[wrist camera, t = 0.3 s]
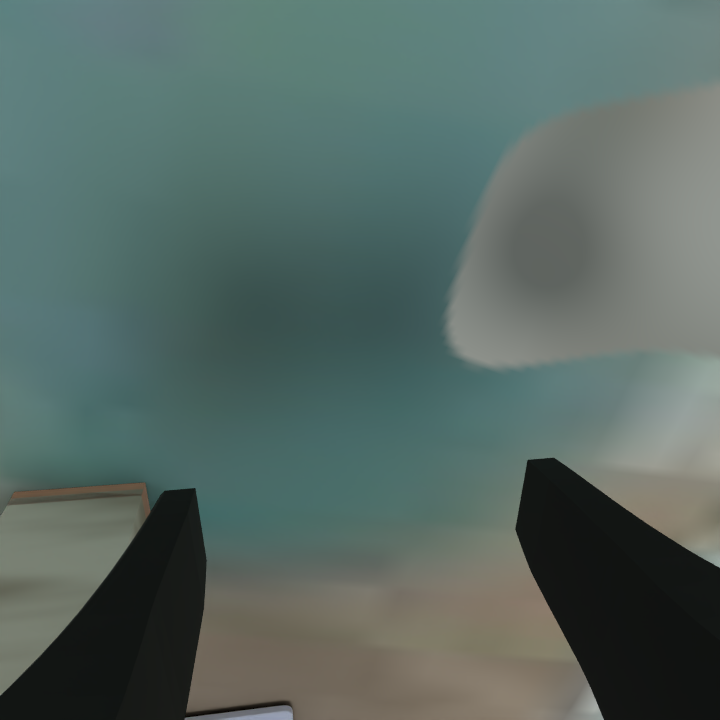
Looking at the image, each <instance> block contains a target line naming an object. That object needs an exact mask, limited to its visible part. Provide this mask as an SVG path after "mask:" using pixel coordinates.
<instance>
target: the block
mask: <svg viewBox="0 0 720 720" xmlns="http://www.w3.org/2000/svg"><path fill="white" fill-rule="evenodd" d="M149 514H150V506H149V501H148V496H147V490H146V485H145V483H131V484H117V485H103V486H90V487H76V488H62V489H49V490H35V491H21V492H14V494H13V495H12V497H11V499H10V501H9V502H8V504H7V506H6V508H5V509H4V511H3V513H2V515H1V517H0V695H1V694H2V693H3V692H4V691H5V690H7V689H8V688H9V687H10V686H11V685H12V684H13V683H14V682H15V681H16V680H17V679H18V678H19V677H20V676H21V675H22V674H23V672H24V671H25V670H26V669H27V668H28V667H29V666H30V665H31V664H32V663H33V662H34V661H35V660H36V659H37V658H38V657H39V656H40V655H41V654H42V653H43V652H44V651H45V650H46V649H47V648H48V647H49V645H50V644H51V643H52V642H53V641H54V640H55V639H56V638H57V637H58V636H59V635H60V633H61V632H62V631H63V630H64V629H65V628H66V627H67V625H68V624H69V623H70V622H71V621H72V619H73V618H74V617H75V616H76V615H77V614H78V612H79V611H80V610H81V609H82V608H83V606H84V605H85V604H86V602H87V601H88V600H89V599H90V597H91V596H92V595H93V593H94V592H95V591H96V590H97V588H98V587H99V586H100V585H101V583H102V582H103V581H104V579H105V578H106V577H107V575H108V574H109V573H110V571H111V570H112V569H113V567H114V566H115V564H116V563H117V562H118V560H119V559H120V557H121V556H122V554H123V553H124V552H125V550H126V549H127V547H128V546H129V544H130V543H131V542H132V540H133V539H134V537H135V535H136V534H137V532H138V531H139V529H140V528H141V526H142V525H143V523H144V522H145V520H146V518H147V517H148V515H149Z"/></svg>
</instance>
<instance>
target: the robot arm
mask: <svg viewBox="0 0 720 720" xmlns="http://www.w3.org/2000/svg"><path fill="white" fill-rule="evenodd" d="M515 530H516V532H517V535H518V538H519V541H520V544H521V547H522V549H523V552H524V555H525V557H526V560H527V563H528V565H529V568H530V570H531V572H532V574H533V576H534V578H535V580H536V582H537V584H538V586H539V588H540V590H541V592H542V594H543V596H544V598H545V600H546V602H547V604H548V605H549V607H550V609H551V611H552V613H553V615H554V617H555V619H556V621H557V622H558V624H559V626H560V628H561V630H562V632H563V634H564V636H565V637H566V639H567V641H568V643H569V645H570V647H571V649H572V651H573V653H574V654H575V656H576V658H577V660H578V662H579V664H580V666H581V668H582V670H583V672H584V674H585V676H586V678H587V681H588V683H589V685H590V687H591V689H592V692H593V694H594V697H595V699H596V701H597V704H598V706H599V709H600V711H601V714H602V716H603V718H604V720H720V568H719V567H717V566H715V565H714V564H712V563H710V562H708V561H706V560H704V559H703V558H701V557H699V556H697V555H696V554H694V553H692V552H691V551H689V550H687V549H686V548H684V547H682V546H681V545H679V544H678V543H676V542H675V541H673V540H671V539H670V538H668V537H667V536H665V535H663V534H662V533H660V532H659V531H657V530H656V529H654V528H653V527H651V526H650V525H648V524H647V523H645V522H644V521H642V520H641V519H639V518H638V517H636V516H635V515H633V514H632V513H631V512H629V511H628V510H626V509H625V508H623V507H622V506H621V505H619V504H618V503H616V502H615V501H614V500H612V499H611V498H609V497H608V496H607V495H605V494H604V493H602V492H601V491H600V490H598V489H597V488H596V487H594V486H593V485H592V484H590V483H589V482H587V481H586V480H585V479H583V478H582V477H581V476H579V475H578V474H576V473H575V472H574V471H572V470H571V469H570V468H568V467H567V466H565V465H564V464H562V463H561V462H559V461H558V460H556V459H555V458H545V459H533V460H528V461H527V467H526V472H525V478H524V484H523V489H522V495H521V501H520V506H519V512H518V518H517V523H516V529H515ZM206 562H207V560H206V554H205V547H204V541H203V534H202V528H201V522H200V515H199V509H198V502H197V496H196V489H195V488H192V489H180V490H169V491H164V492H163V493H162V494H161V495H160V497H159V498H158V500H157V502H156V504H155V505H154V507H153V509H152V510H151V512H150V514H149V515H148V517H147V518H146V520H145V522H144V523H143V525H142V526H141V528H140V529H139V531H138V532H137V534H136V535H135V537H134V539H133V540H132V542H131V543H130V544H129V546H128V547H127V549H126V550H125V552H124V553H123V554H122V556H121V557H120V559H119V560H118V562H117V563H116V564H115V566H114V567H113V569H112V570H111V571H110V573H109V574H108V575H107V577H106V578H105V579H104V581H103V582H102V583H101V585H100V586H99V587H98V588H97V590H96V591H95V592H94V593H93V595H92V596H91V597H90V599H89V600H88V601H87V602H86V604H85V605H84V606H83V608H82V609H81V610H80V611H79V612H78V614H77V615H76V616H75V617H74V618H73V619H72V621H71V622H70V623H69V624H68V625H67V627H66V628H65V629H64V630H63V631H62V632H61V633H60V635H59V636H58V637H57V638H56V639H55V640H54V641H53V642H52V643H51V644H50V645H49V647H48V648H47V649H46V650H45V651H44V652H43V653H42V654H41V655H40V656H39V657H38V658H37V659H36V660H35V661H34V662H33V663H32V664H31V665H30V666H29V667H28V668H27V669H26V670H25V671H24V672H23V674H22V675H21V676H20V677H19V678H18V679H17V680H16V681H15V682H14V683H13V684H12V685H11V686H10V687H9V688H8V689H7V690H5V691H4V692H3V693H2V694H1V695H0V720H293V710H292V708H291V707H290V706H287V705H281V706H273V707H265V708H257V709H249V710H241V711H234V712H226V713H218V714H210V715H202V716H194V717H186V718H185V714H186V709H187V703H188V697H189V691H190V686H191V680H192V674H193V668H194V663H195V657H196V651H197V646H198V640H199V634H200V628H201V622H202V616H203V610H204V598H205V581H206Z"/></svg>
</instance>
